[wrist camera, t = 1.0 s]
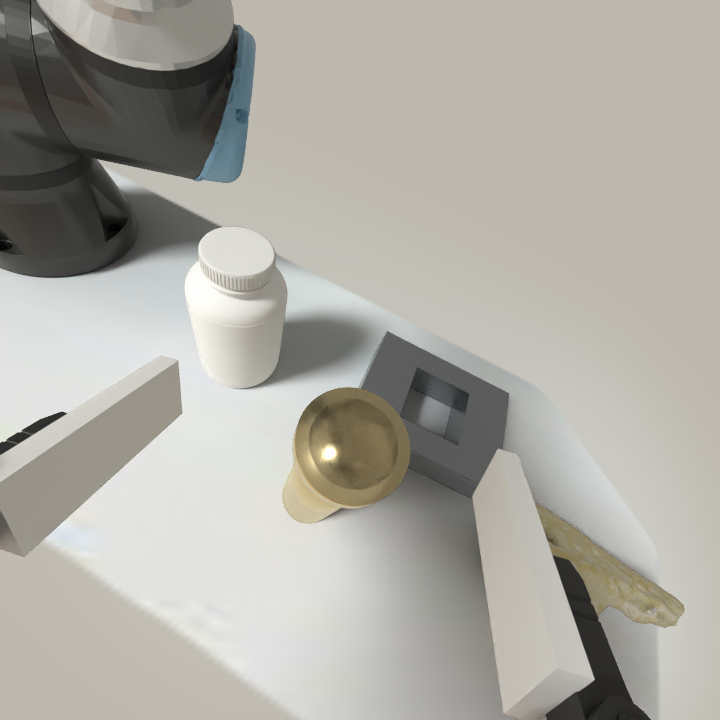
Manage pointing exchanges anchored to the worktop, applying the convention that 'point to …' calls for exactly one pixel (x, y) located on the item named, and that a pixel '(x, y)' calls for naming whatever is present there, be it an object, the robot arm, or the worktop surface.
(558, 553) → the beige rock
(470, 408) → the block
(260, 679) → the worktop surface
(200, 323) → the pill bottle
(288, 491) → the brass flanged peg
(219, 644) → the worktop surface
